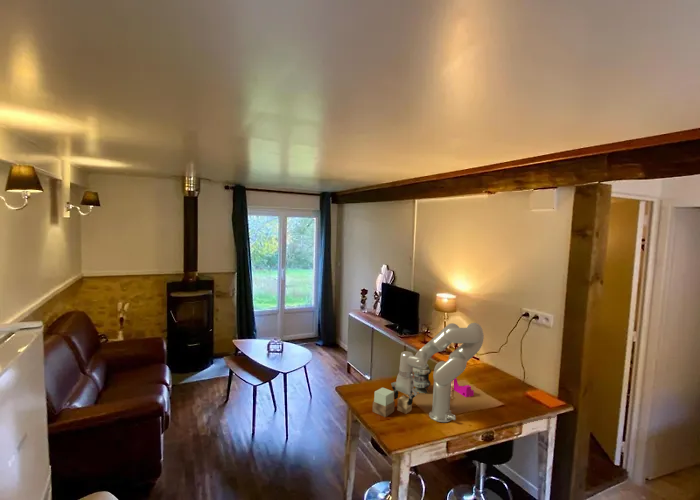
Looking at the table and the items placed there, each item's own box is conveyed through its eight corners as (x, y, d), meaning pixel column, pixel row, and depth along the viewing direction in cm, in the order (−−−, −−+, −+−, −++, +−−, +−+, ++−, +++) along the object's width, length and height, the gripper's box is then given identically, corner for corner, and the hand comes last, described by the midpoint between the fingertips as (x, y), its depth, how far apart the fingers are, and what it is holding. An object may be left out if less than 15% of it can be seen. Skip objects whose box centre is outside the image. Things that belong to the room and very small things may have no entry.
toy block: (473, 397, 239) (474, 386, 238) (466, 399, 236) (466, 387, 236) (456, 388, 252) (457, 377, 252) (449, 389, 250) (450, 378, 249)
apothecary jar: (424, 386, 252) (425, 360, 251) (433, 394, 241) (435, 367, 240) (408, 388, 248) (409, 361, 247) (416, 396, 237) (418, 368, 236)
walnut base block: (394, 411, 216) (394, 401, 215) (385, 417, 209) (385, 407, 209) (381, 406, 222) (381, 396, 221) (372, 411, 215) (372, 401, 214)
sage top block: (393, 401, 216) (393, 391, 215) (385, 406, 209) (385, 396, 209) (382, 397, 221) (382, 387, 220) (374, 401, 215) (374, 391, 214)
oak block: (411, 410, 218) (412, 398, 218) (406, 414, 214) (406, 402, 213) (402, 406, 222) (403, 395, 222) (397, 410, 218) (397, 398, 217)
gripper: (421, 376, 214) (419, 405, 215) (396, 367, 225) (394, 394, 226) (415, 379, 208) (412, 409, 210) (389, 370, 219) (387, 398, 221)
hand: (402, 401), depth 218 cm, fingers open, 9 cm apart
